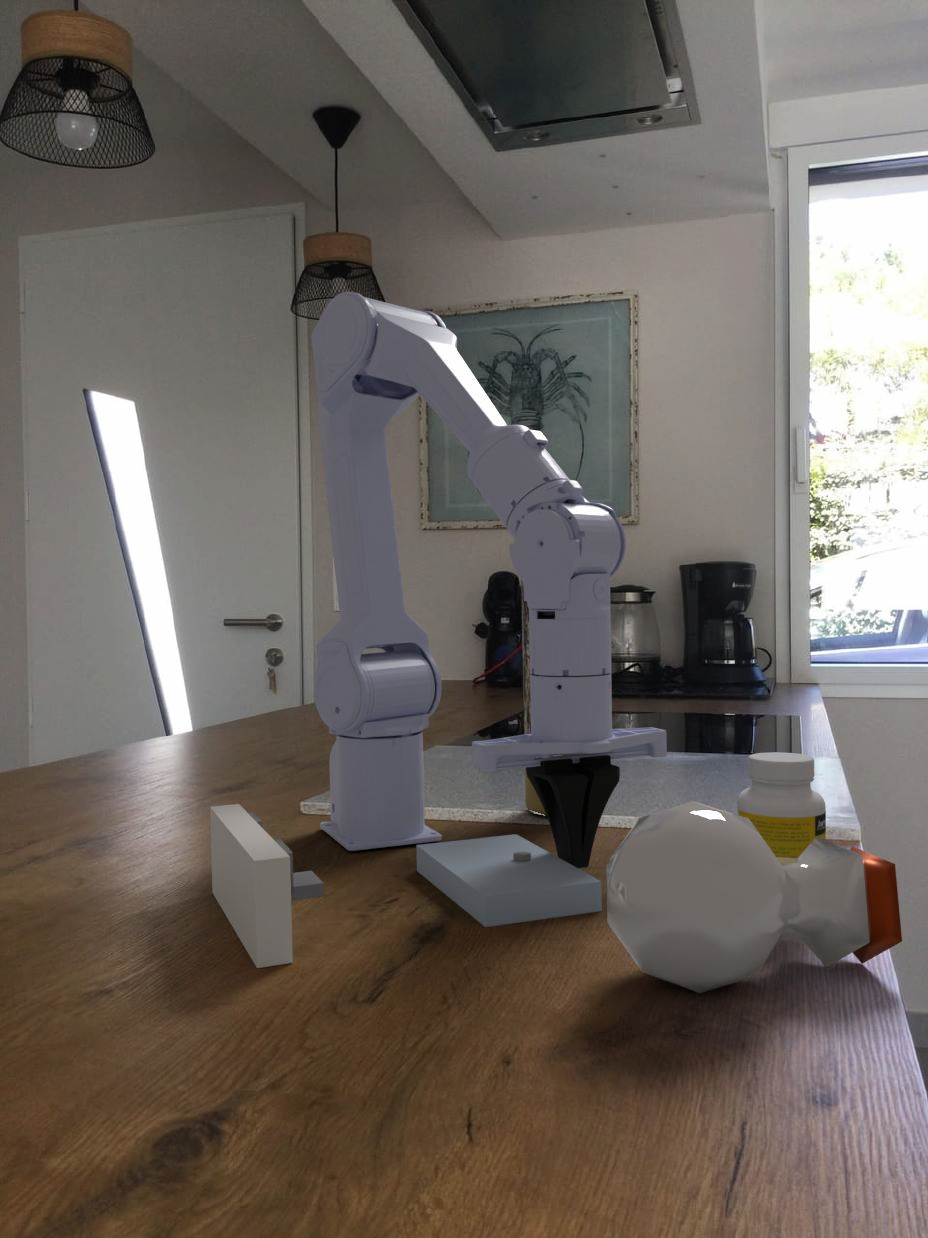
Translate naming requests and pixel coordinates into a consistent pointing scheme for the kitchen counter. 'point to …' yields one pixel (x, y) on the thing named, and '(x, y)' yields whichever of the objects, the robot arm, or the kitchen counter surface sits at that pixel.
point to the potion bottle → (741, 898)
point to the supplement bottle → (783, 802)
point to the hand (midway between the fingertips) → (573, 865)
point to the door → (508, 880)
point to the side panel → (256, 884)
